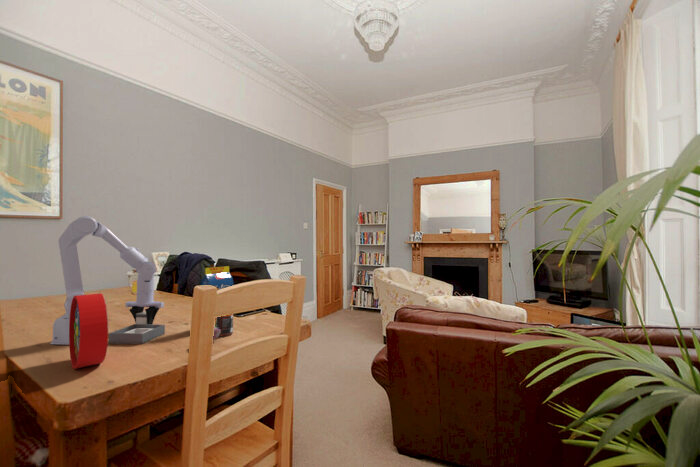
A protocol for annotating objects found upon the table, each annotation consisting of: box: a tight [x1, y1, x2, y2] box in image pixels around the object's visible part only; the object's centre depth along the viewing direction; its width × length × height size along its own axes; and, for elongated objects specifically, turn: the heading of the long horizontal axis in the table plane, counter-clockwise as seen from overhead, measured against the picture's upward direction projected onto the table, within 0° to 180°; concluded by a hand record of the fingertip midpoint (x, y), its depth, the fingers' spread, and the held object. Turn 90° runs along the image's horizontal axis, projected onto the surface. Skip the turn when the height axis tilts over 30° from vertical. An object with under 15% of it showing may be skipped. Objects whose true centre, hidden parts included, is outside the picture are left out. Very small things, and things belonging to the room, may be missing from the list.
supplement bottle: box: [216, 313, 234, 337], centre depth 119 cm, size 6×6×11 cm
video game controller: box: [213, 327, 221, 343], centre depth 107 cm, size 10×5×7 cm, turn 169°
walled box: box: [108, 323, 166, 345], centre depth 113 cm, size 12×12×4 cm
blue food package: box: [199, 265, 235, 327], centre depth 130 cm, size 6×12×25 cm, turn 153°
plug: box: [135, 311, 147, 324], centre depth 124 cm, size 4×4×7 cm
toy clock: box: [68, 292, 109, 370], centre depth 89 cm, size 20×6×20 cm, turn 48°
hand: (144, 325), depth 123 cm, fingers closed on plug, 4 cm apart
